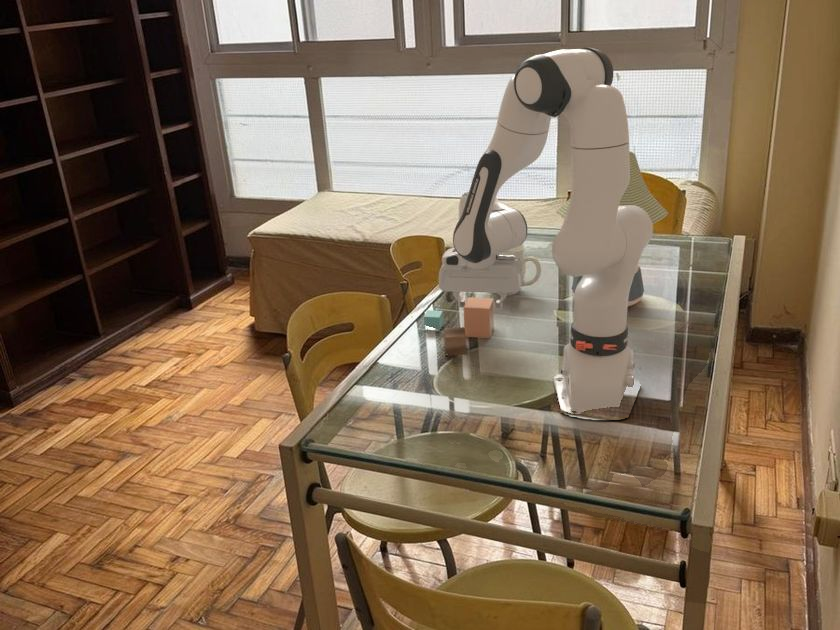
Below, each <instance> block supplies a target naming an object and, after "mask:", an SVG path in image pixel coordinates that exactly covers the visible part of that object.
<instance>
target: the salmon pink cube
mask: <svg viewBox="0 0 840 630" xmlns="http://www.w3.org/2000/svg"><path fill="white" fill-rule="evenodd" d="M494 309H495V308H494V298H488V297H487V298H486V297H471V296H469V297H468V298H467V300H465V306H464V308H463V321H464V322H463V327H464V328H465V334H466V338H482V339H491V336H492V333H493V330H494V328H495V325H494V324H495V323H494V322H495V319H494V316H495V315H494V313H495V312H494Z"/></svg>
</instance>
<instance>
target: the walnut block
mask: <svg viewBox="0 0 840 630" xmlns="http://www.w3.org/2000/svg"><path fill="white" fill-rule="evenodd" d="M443 338H444V339H443V340H444V343H443V345H444V353H445V354H448V355H450V356H464V355H467V337H466V334H465V328H464V326H463V327H462V326H461V327H445V328H443Z"/></svg>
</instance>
